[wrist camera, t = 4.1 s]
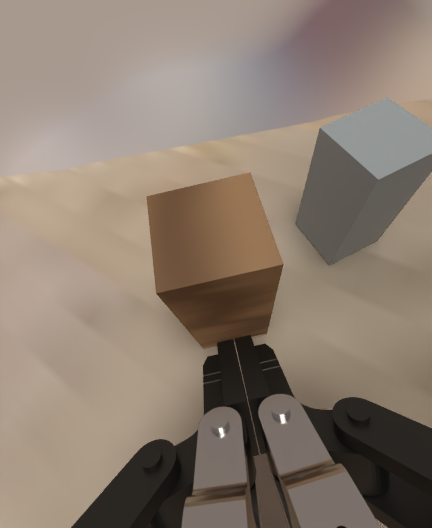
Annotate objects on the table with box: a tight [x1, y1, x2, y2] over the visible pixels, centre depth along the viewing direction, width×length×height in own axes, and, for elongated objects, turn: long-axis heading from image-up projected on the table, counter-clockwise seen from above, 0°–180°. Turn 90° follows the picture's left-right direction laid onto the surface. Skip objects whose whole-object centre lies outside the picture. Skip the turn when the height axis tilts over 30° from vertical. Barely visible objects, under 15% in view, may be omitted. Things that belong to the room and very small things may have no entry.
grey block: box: [296, 98, 432, 265], centre depth 20 cm, size 5×5×10 cm
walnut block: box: [147, 173, 283, 349], centre depth 17 cm, size 5×5×12 cm
